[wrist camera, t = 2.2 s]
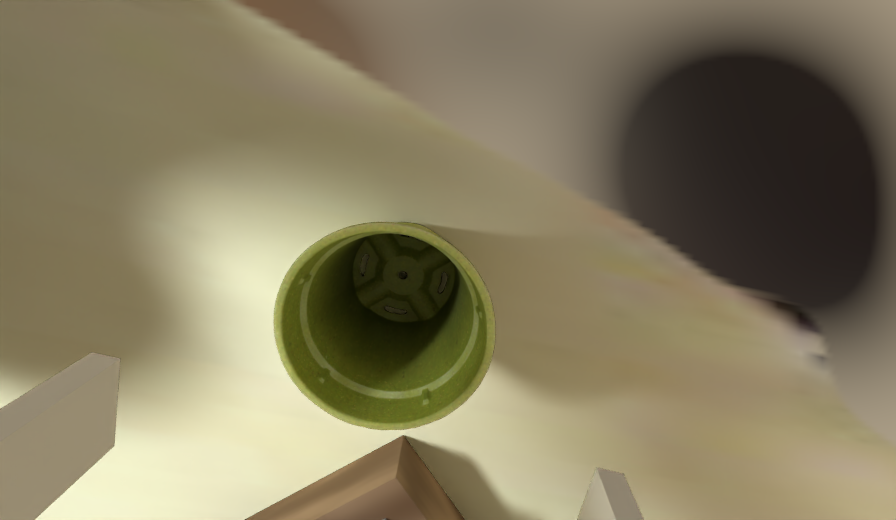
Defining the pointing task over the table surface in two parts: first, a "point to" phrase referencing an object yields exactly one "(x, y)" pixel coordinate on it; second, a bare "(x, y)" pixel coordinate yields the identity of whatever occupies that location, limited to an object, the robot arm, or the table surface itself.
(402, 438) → the pedestal
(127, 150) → the table surface
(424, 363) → the plant pot
